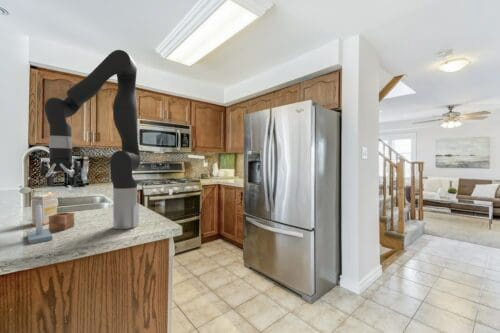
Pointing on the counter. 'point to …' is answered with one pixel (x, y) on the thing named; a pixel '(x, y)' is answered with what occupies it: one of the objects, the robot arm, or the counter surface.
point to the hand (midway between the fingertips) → (61, 186)
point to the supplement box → (44, 207)
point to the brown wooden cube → (61, 221)
